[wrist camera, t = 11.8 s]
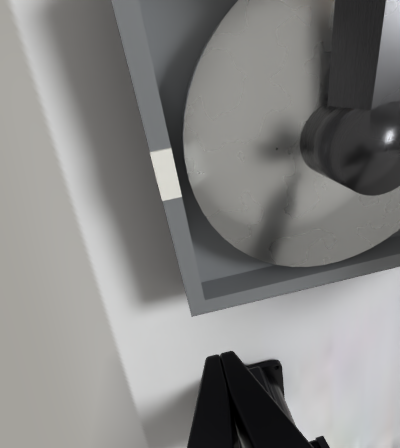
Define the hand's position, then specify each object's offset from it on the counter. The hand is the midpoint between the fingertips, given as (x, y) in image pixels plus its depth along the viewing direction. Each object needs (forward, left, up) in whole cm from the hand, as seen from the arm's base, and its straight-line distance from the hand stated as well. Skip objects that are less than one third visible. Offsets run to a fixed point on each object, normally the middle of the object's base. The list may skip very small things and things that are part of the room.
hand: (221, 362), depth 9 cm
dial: (+5, -8, -9) cm, 13 cm away
